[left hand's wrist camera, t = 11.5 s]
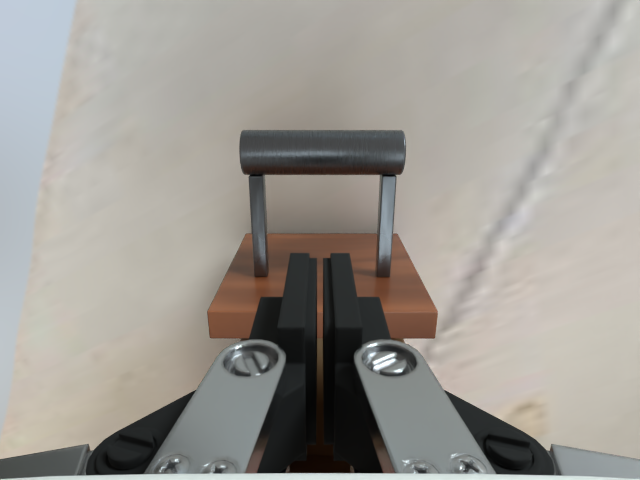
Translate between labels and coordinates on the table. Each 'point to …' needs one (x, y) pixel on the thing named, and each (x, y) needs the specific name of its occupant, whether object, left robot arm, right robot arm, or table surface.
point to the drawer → (323, 247)
